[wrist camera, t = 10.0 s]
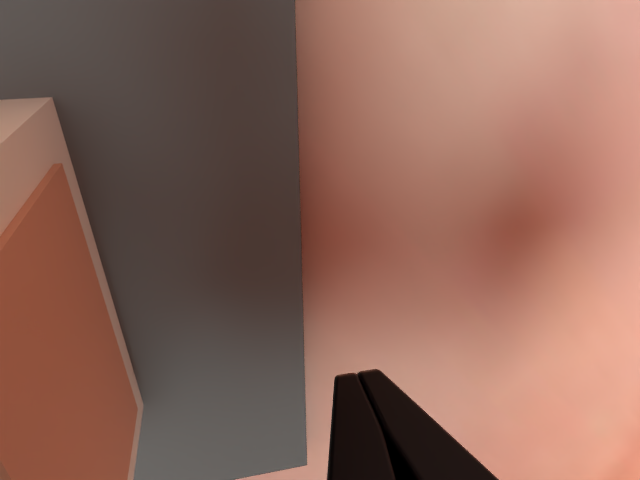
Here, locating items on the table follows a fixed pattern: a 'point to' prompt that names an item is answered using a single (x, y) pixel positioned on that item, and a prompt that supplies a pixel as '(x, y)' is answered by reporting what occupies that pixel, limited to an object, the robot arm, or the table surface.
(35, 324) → the cream rectangular block
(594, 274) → the table surface
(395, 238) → the table surface
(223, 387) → the charcoal mat
